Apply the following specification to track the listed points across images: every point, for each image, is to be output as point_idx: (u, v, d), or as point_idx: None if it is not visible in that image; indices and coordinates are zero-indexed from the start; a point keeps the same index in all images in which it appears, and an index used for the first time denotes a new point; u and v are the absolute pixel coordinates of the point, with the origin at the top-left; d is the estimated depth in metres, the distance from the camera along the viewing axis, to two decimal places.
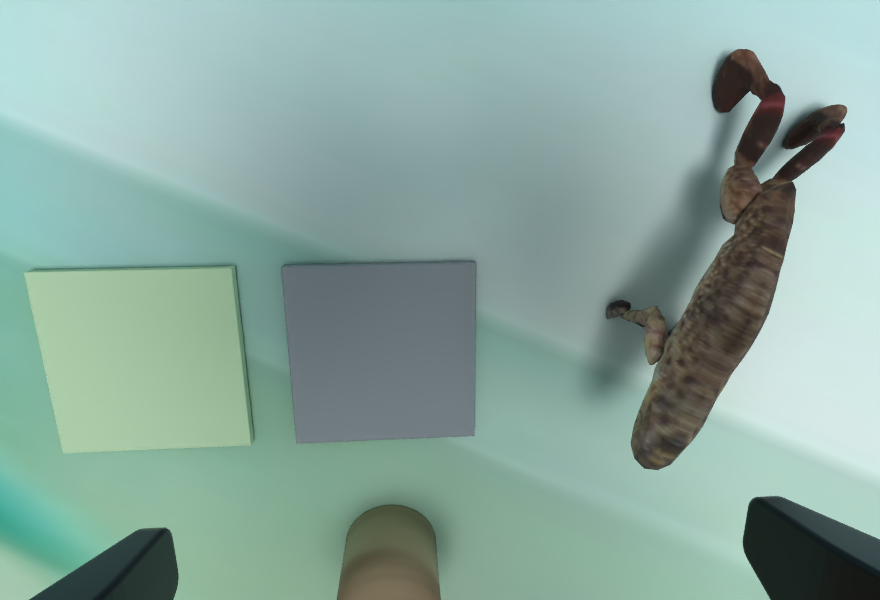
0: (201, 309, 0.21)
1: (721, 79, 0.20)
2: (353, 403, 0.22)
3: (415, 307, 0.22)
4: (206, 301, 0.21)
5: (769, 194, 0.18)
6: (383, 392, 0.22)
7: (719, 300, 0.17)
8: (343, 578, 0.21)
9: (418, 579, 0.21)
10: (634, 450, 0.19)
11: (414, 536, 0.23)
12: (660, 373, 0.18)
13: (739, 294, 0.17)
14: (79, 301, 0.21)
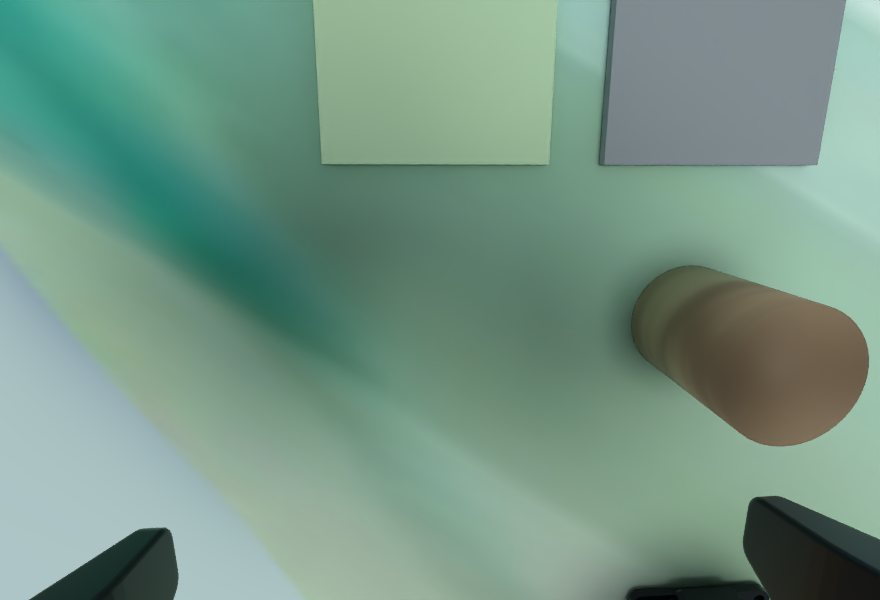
0: None
1: None
2: (680, 110, 0.18)
3: None
4: None
5: None
6: (719, 97, 0.18)
7: None
8: (685, 315, 0.17)
9: None
10: None
11: None
12: None
13: None
14: None
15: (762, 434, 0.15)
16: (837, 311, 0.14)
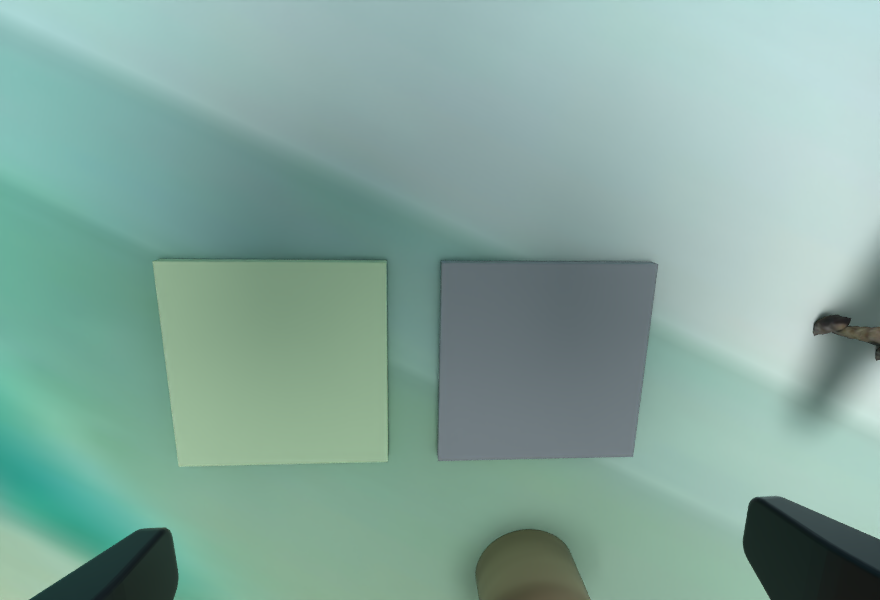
0: (348, 308, 0.18)
1: None
2: (505, 418, 0.20)
3: (585, 312, 0.19)
4: (354, 299, 0.18)
5: None
6: (539, 406, 0.20)
7: None
8: None
9: None
10: None
11: (566, 567, 0.20)
12: None
13: None
14: (212, 296, 0.18)
15: None
16: None
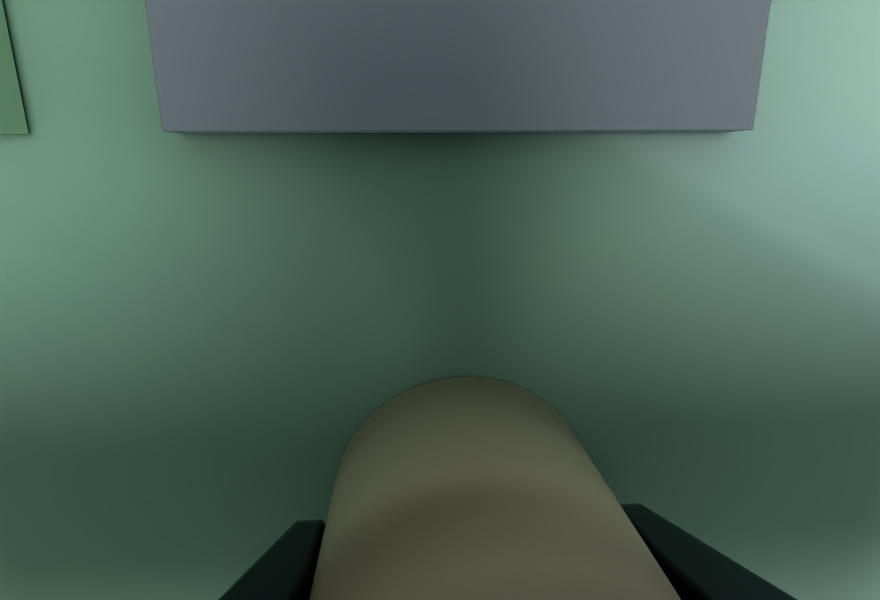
0: None
1: None
2: None
3: None
4: None
5: None
6: None
7: None
8: None
9: None
10: None
11: (566, 453, 0.07)
12: None
13: None
14: None
15: None
16: None
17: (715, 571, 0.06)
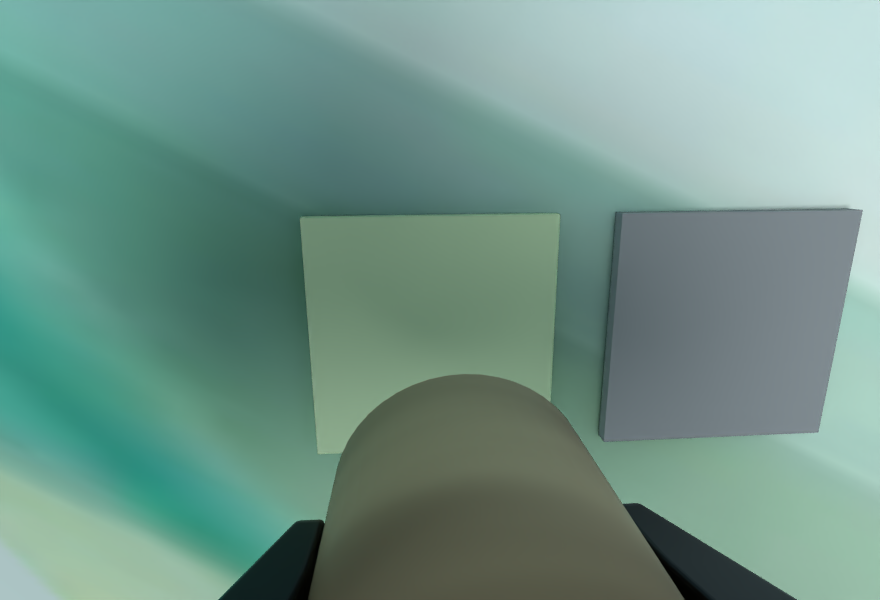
0: (515, 268, 0.16)
1: None
2: (681, 391, 0.18)
3: (778, 267, 0.17)
4: (522, 258, 0.16)
5: None
6: (719, 377, 0.18)
7: None
8: None
9: None
10: None
11: (567, 451, 0.07)
12: None
13: None
14: (365, 257, 0.16)
15: None
16: None
17: (715, 571, 0.06)
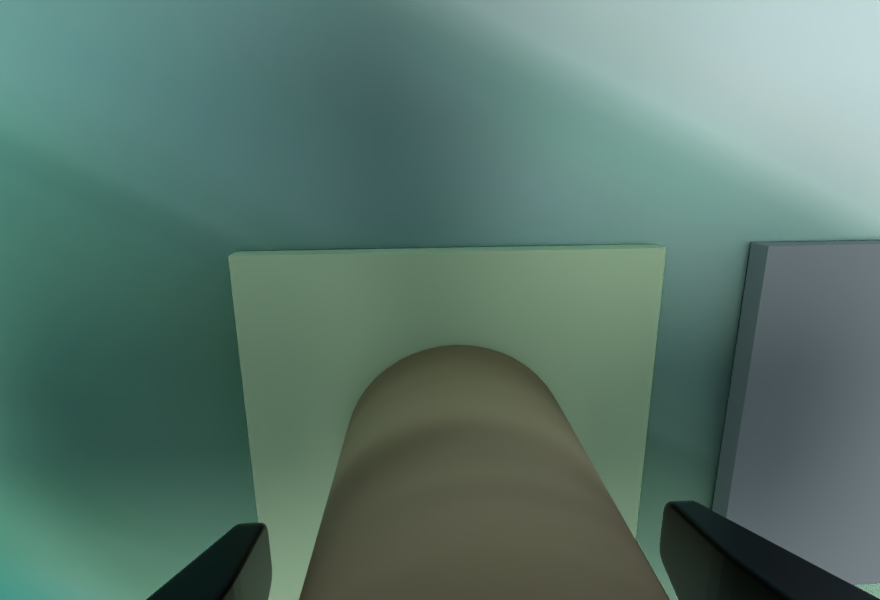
0: (588, 336, 0.10)
1: None
2: (837, 518, 0.11)
3: None
4: (601, 319, 0.10)
5: None
6: None
7: None
8: (329, 509, 0.07)
9: (596, 509, 0.06)
10: None
11: (538, 404, 0.08)
12: None
13: None
14: (340, 319, 0.09)
15: None
16: None
17: (784, 567, 0.06)
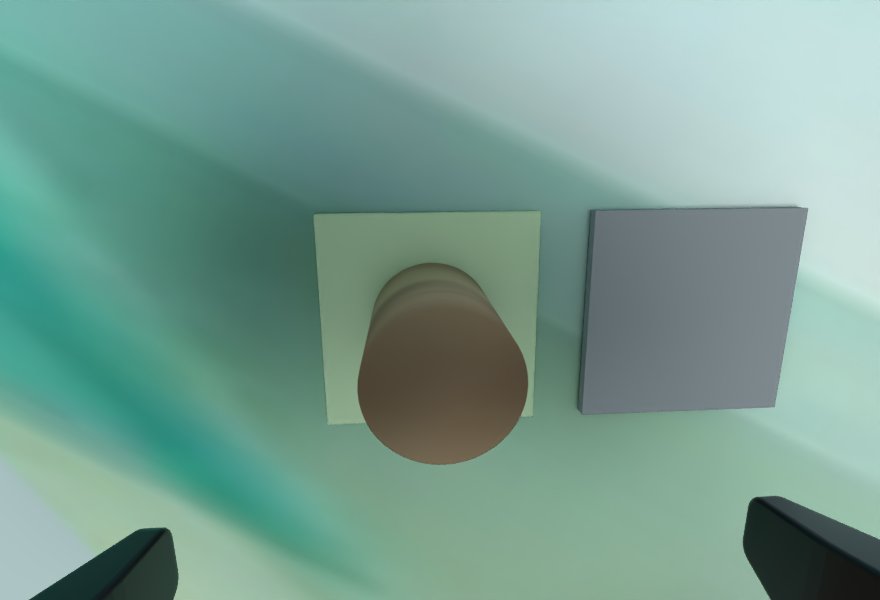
0: (501, 259, 0.18)
1: None
2: (650, 369, 0.20)
3: (734, 258, 0.19)
4: (508, 250, 0.18)
5: None
6: (684, 356, 0.20)
7: None
8: (374, 318, 0.15)
9: (483, 302, 0.14)
10: None
11: (469, 282, 0.17)
12: None
13: None
14: (370, 249, 0.18)
15: (418, 451, 0.13)
16: (478, 314, 0.13)
17: None
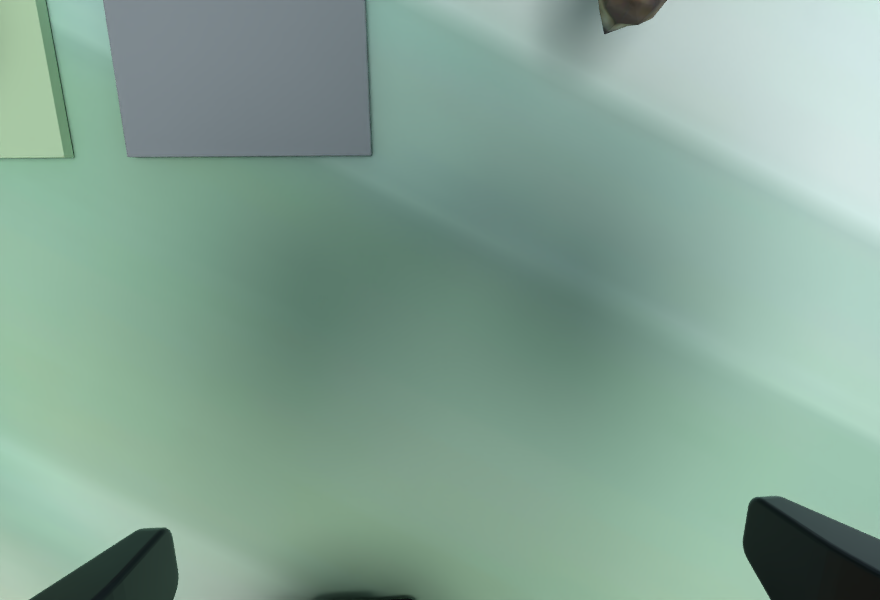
0: None
1: None
2: (201, 97, 0.17)
3: None
4: None
5: None
6: (242, 82, 0.17)
7: None
8: None
9: None
10: None
11: None
12: None
13: None
14: None
15: None
16: None
17: None
